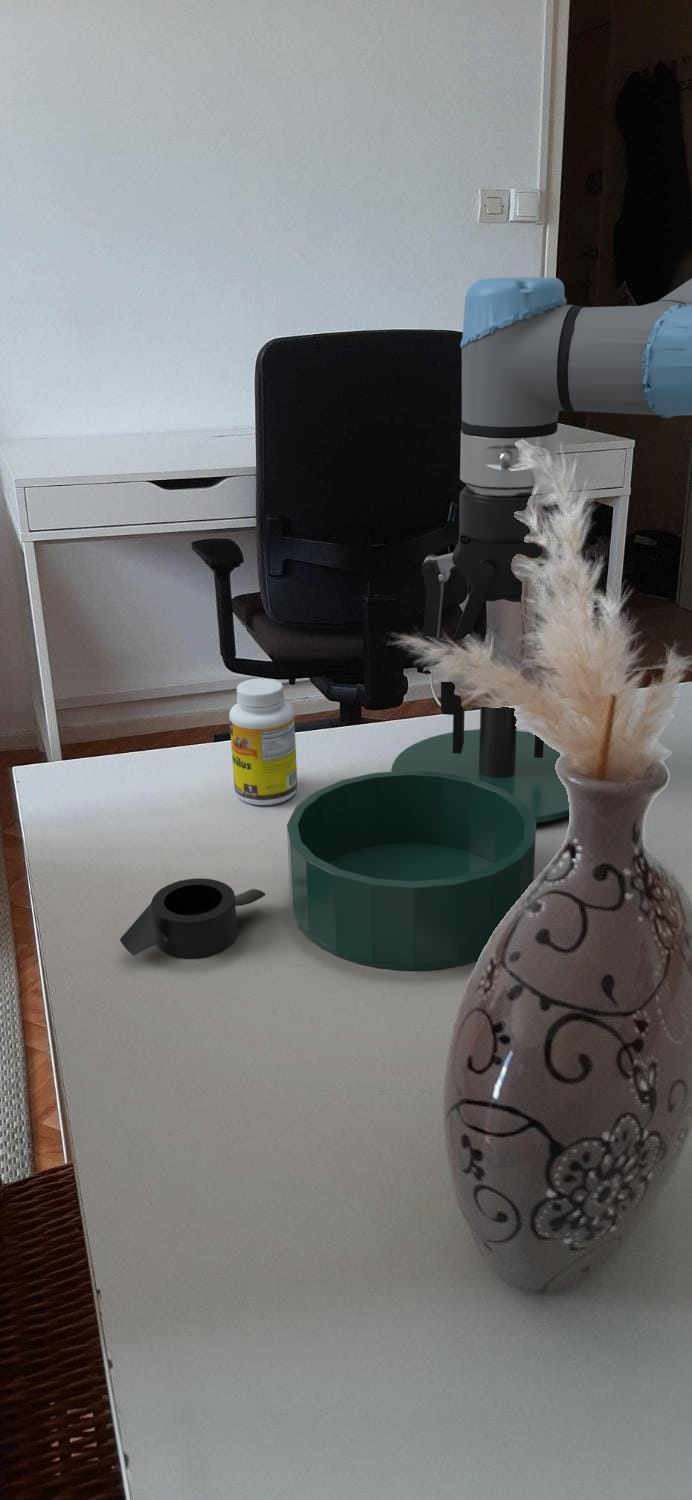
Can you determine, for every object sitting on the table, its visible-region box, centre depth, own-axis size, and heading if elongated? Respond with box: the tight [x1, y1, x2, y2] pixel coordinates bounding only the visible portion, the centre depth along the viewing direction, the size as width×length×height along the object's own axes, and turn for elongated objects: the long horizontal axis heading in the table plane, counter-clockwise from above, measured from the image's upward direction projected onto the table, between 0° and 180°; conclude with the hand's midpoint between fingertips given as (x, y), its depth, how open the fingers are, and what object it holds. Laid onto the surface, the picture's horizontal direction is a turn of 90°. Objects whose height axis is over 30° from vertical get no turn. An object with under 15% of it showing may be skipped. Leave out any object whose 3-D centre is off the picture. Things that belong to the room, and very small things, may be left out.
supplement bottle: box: [228, 677, 298, 806], centre depth 99 cm, size 6×6×10 cm
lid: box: [390, 707, 570, 824], centre depth 101 cm, size 19×19×10 cm
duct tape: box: [119, 877, 266, 959], centre depth 81 cm, size 8×10×3 cm
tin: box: [286, 770, 537, 971], centre depth 83 cm, size 18×18×6 cm
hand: (498, 748), depth 101 cm, fingers open, 6 cm apart
